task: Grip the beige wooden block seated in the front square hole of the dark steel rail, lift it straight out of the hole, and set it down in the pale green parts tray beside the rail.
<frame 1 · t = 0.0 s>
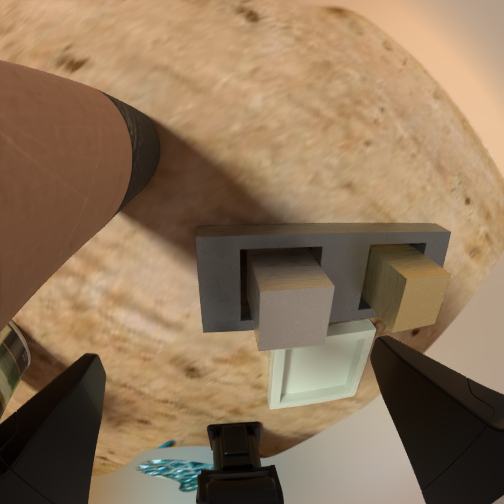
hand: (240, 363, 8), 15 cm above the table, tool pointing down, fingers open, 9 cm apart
grey square block: (274, 270, 24), resting in rail
travel mug: (115, 152, 19), on the table, touching gripper
tray: (316, 362, 29), on the table
rail: (331, 268, 25), on the table
beige wooden block: (380, 264, 25), resting in rail
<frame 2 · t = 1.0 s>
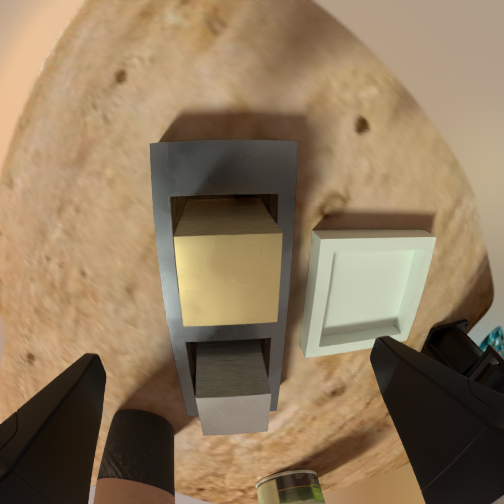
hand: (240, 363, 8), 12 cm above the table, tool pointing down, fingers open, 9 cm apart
grey square block: (227, 349, 23), resting in rail
travel mug: (143, 426, 27), on the table
tray: (363, 288, 22), on the table
coffee can: (285, 480, 37), on the table
rail: (225, 298, 21), on the table
beige wooden block: (223, 232, 19), resting in rail
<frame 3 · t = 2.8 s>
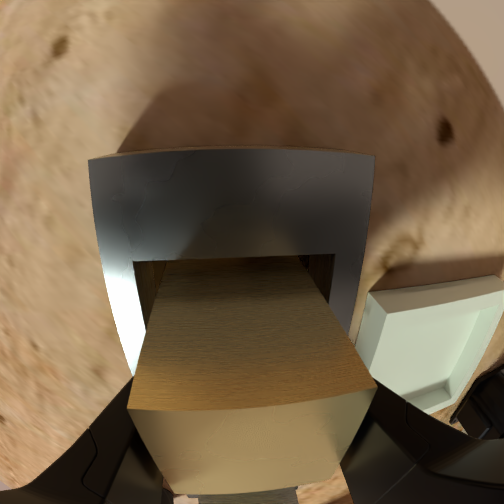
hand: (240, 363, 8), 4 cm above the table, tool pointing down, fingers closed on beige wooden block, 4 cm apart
grey square block: (237, 434, 16), resting in rail
travel mug: (137, 489, 19), on the table
tray: (419, 354, 15), on the table
rail: (235, 385, 14), on the table
beige wooden block: (232, 301, 12), resting in rail, touching gripper
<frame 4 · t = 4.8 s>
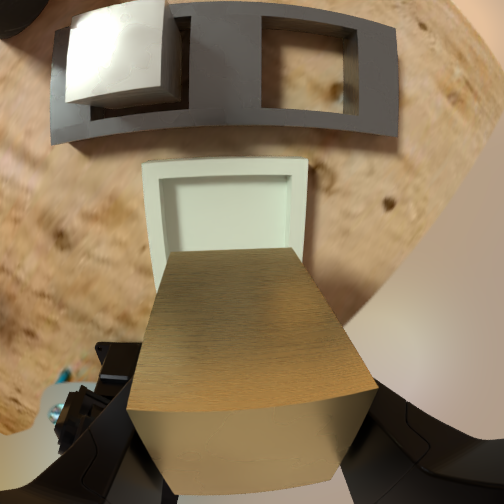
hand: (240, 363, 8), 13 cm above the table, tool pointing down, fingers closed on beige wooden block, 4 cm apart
grey square block: (147, 72, 15), resting in rail
travel mug: (22, 2, 10), on the table
tray: (225, 229, 20), on the table
rail: (224, 67, 16), on the table
beige wooden block: (232, 301, 12), point 9 cm above the table, touching gripper
when the fingers open (5 cm above the table, at t = 6.9 s): beige wooden block drops 1 cm, resting on tray.
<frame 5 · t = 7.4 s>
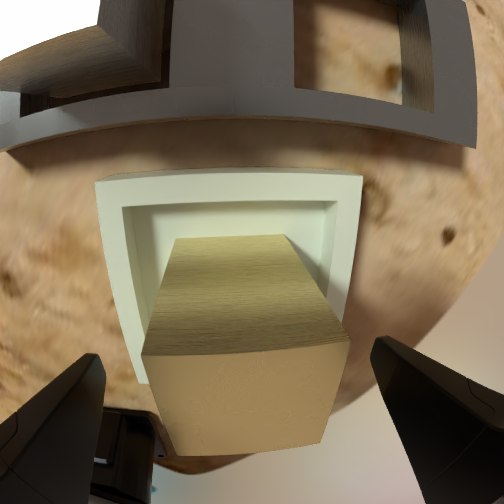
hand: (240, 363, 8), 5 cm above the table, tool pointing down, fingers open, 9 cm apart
grey square block: (111, 41, 9), resting in rail
tray: (230, 278, 13), on the table
rail: (230, 29, 9), on the table
beige wooden block: (231, 284, 13), resting on tray
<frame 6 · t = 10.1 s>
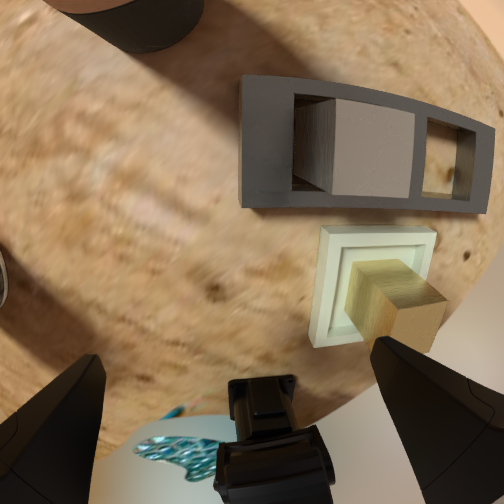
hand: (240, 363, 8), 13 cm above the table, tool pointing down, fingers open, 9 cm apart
grey square block: (325, 143, 19), resting in rail
travel mug: (152, 11, 14), on the table
tray: (369, 281, 24), on the table
rail: (386, 149, 19), on the table
beige wooden block: (371, 284, 23), resting on tray
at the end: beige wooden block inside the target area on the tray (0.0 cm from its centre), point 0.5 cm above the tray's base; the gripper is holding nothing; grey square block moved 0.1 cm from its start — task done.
